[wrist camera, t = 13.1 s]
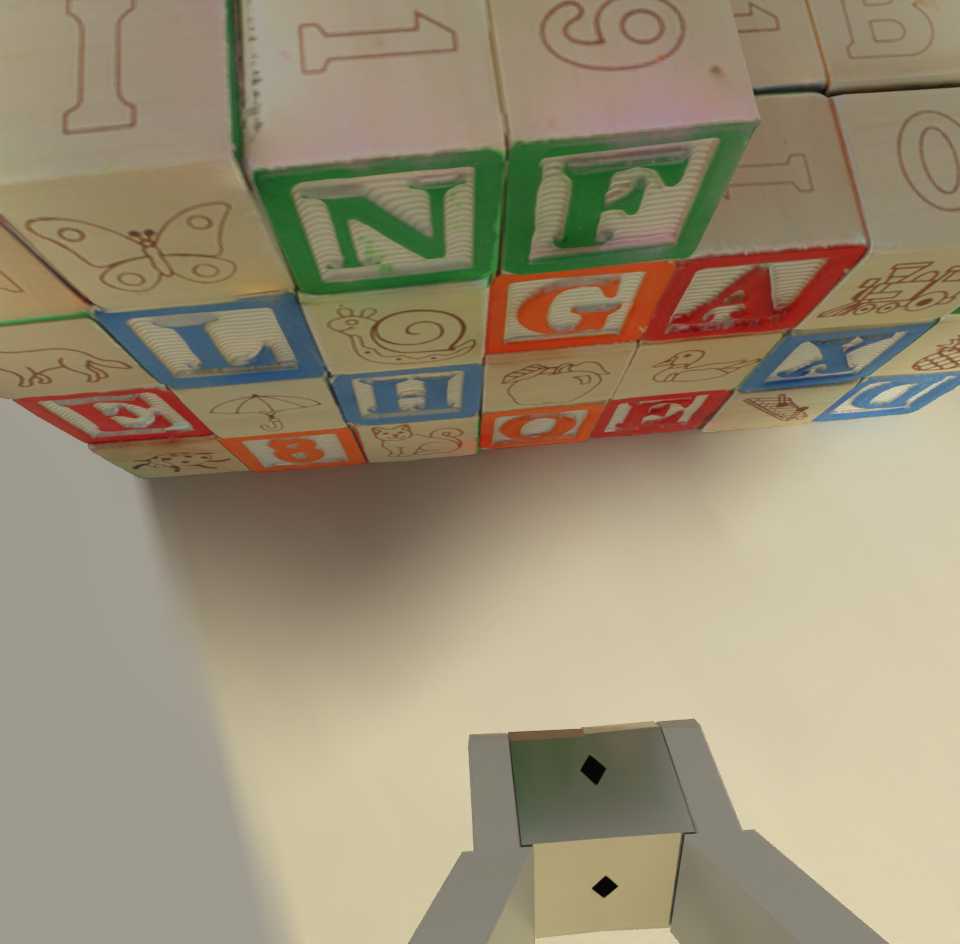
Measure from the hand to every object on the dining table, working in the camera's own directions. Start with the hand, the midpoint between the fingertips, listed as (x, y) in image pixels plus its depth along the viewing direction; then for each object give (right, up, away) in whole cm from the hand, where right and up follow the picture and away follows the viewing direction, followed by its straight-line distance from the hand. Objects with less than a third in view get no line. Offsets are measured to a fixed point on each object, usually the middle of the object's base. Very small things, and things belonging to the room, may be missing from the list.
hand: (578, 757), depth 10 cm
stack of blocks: (0, +7, +12) cm, 14 cm away
